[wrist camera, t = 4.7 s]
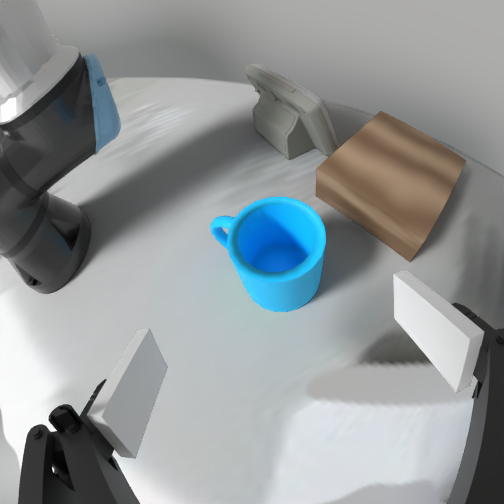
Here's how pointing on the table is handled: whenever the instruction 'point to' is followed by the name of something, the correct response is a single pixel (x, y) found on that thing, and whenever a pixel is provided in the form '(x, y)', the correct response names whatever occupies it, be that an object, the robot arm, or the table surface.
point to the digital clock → (290, 115)
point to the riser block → (390, 182)
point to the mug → (275, 251)
